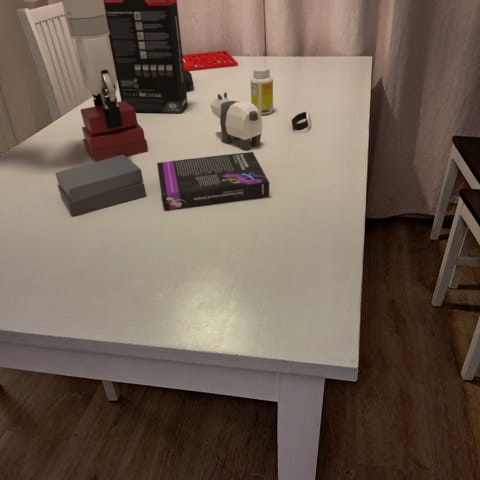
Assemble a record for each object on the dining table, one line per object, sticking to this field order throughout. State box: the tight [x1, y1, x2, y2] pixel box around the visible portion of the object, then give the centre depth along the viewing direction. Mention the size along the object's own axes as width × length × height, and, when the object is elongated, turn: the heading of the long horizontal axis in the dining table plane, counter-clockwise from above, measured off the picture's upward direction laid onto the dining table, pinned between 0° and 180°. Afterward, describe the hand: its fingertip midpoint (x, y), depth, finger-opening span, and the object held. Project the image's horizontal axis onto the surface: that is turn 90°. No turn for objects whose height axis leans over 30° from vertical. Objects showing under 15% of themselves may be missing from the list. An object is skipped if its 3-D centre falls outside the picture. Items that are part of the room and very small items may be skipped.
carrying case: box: [184, 70, 194, 92], centre depth 141 cm, size 11×3×15 cm
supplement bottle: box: [250, 66, 274, 116], centre depth 117 cm, size 6×6×10 cm
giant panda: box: [209, 91, 263, 151], centre depth 103 cm, size 15×6×10 cm, turn 42°
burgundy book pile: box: [81, 123, 149, 163], centre depth 103 cm, size 12×9×5 cm
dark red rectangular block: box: [80, 100, 139, 135], centre depth 100 cm, size 10×7×3 cm
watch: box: [291, 110, 312, 131], centre depth 110 cm, size 8×5×4 cm, turn 168°
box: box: [156, 151, 271, 211], centre depth 88 cm, size 14×4×20 cm
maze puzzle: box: [182, 50, 239, 71], centre depth 164 cm, size 20×20×1 cm
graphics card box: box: [103, 0, 189, 114], centre depth 117 cm, size 17×7×27 cm, turn 80°
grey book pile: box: [54, 155, 147, 217], centre depth 86 cm, size 14×10×5 cm
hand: (109, 121), depth 101 cm, fingers closed on dark red rectangular block, 7 cm apart
